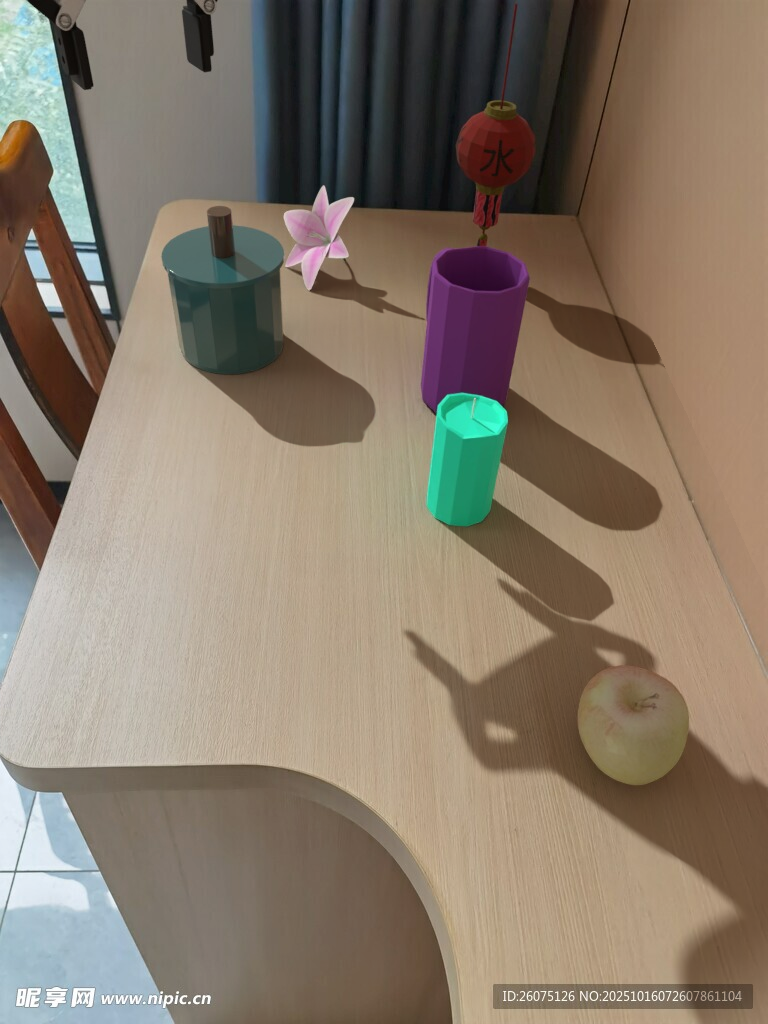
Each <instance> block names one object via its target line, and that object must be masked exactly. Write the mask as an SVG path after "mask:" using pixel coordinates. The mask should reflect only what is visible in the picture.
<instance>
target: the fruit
mask: <svg viewBox="0 0 768 1024" xmlns="http://www.w3.org/2000/svg"><path fill="white" fill-rule="evenodd" d="M689 713H690V712H689V707H688V705H687V703H686V700H685V698H684V696H683V694H682V693H681V691H680V690H679V689H678V687H676V686H675V684H673V683H672V682H671V681H670V680H669V679H667V678H666V677H664V676H663V675H661V674H660V675H659V674H658V673H657V672H654V671H651V670H649V669H646V668H643V667H640V666H635V665H615V666H610V667H607V668H604V669H602V670H601V671H599V672H597V673H595V675H593V677H591V678H590V680H589V681H588V682H587V684H586V685H585V687H584V689H583V690H582V693H581V696H580V698H579V702H578V709H577V727H578V733H579V737H580V740H581V742H582V744H583V747H584V749H585V751H586V752H587V755H588V756H589V758H590V759H591V760H592V762H593V763H594V764H595V766H596V767H597V768H598V769H599V770H600V771H601V772H602V773H603V774H604V775H606V776H607V777H609V778H611V779H613V780H614V781H617V782H620V783H622V784H626V785H630V786H643V785H647V784H650V783H652V782H656V781H657V780H660V779H661V778H662V777H664V776H665V775H667V774H668V773H669V772H670V771H671V770H672V769H673V768H674V767H675V766H676V765H677V763H678V762H679V760H680V758H681V757H682V756H683V752H684V751H685V747H686V744H687V740H688V735H689V730H690V714H689Z"/></svg>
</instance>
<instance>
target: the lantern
mask: <svg viewBox="0 0 768 1024" xmlns="http://www.w3.org/2000/svg"><path fill="white" fill-rule="evenodd" d="M517 10H518V3H517V2H515V3H514V8H513V15H512V16H513V17H512V21H511V29H510V37H509V43H508V51H507V57H506V66H505V73H504V79H503V84H502V93H501V99H500V100H499V99H498V100H497V99H495V100H490V101H488V102H487V103H486V107H485V108H484V110H483V111H480V112H478V113H476V114H474V115H472V116H471V117H470V118H469V119H468V120H467V121H466V123H464V124H463V126H462V127H461V129H460V130H459V134H458V137H457V140H456V142H455V151H456V152H455V153H456V160H457V163H458V165H459V167H460V169H461V170H462V171H463V173H464V175H465V176H466V177H467V178H468V179H469V180H471V181H473V182H474V185H475V189H476V191H475V198H474V206H473V215H472V222H473V223H474V224H475V225H477V226H478V227H479V228H480V230H482V232H480V233H479V234H478V236H477V241H476V247H477V246H481V247H487V244H488V239H489V238H488V234H486V230H489V229H490V228H492V227H495V226H497V224H498V222H499V217H500V209H501V204H502V203H501V202H502V197H503V192H504V189H505V188H506V187H507V186H508V185H509V186H510V185H512V184H514V183H516V182H518V181H519V180H520V179H521V178H522V177H523V176H524V175H525V174H526V173H528V171H529V170H530V167H531V165H532V162H533V160H534V157H535V155H536V151H537V150H536V136H535V134H534V133H533V131H532V129H531V127H530V125H529V123H528V122H527V120H526V119H525V118H523V117H522V116H521V115H519V113H518V111H517V105H516V104H515V103H513V102H511V101H507V100H505V94H506V86H507V80H508V72H509V67H510V58H511V51H512V45H513V39H514V38H513V37H514V33H515V26H516V25H515V24H516V19H517V18H516V17H517Z"/></svg>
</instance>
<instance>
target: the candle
mask: <svg viewBox="0 0 768 1024" xmlns="http://www.w3.org/2000/svg"><path fill="white" fill-rule="evenodd" d="M435 417H436V418H435V424H434V432H433V433H434V434H433V440H432V441H433V442H432V450H431V459H430V467H429V475H428V484H427V491H426V493H427V494H426V508H427V510H429V512H430V513H431V515H432V517H434V519H435V520H436V519H437V520H438V521H440V522H442V523H445V524H447V525H449V526H457V527H470V526H473V525H475V524H478V523H482V522H483V521H484V520H485V518H486V517H487V516H488V515H489V513H490V512H491V508H492V504H493V498H494V493H495V489H496V484H497V480H498V479H497V478H498V475H499V470H500V469H499V468H500V465H501V458H502V454H503V448H504V445H505V439H506V434H507V429H508V424H509V419H508V411H507V410H506V409H505V407H503V406H501V405H500V404H499V403H498V402H497V401H495V400H492V399H489V398H486V397H483V396H480V395H474V394H467V393H457V394H449V395H447V396H446V397H445V398H444V399H443V400H442V401H441V402H440V403H439V404H438V408H437V413H436V415H435Z"/></svg>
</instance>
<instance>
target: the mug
mask: <svg viewBox="0 0 768 1024" xmlns="http://www.w3.org/2000/svg"><path fill="white" fill-rule="evenodd" d="M429 268H430V269H429V276H428V282H427V292H426V302H425V303H426V304H425V305H426V307H425V310H426V312H425V313H426V314H425V318H426V329H425V338H424V350H423V359H422V370H421V379H420V380H421V381H420V390H421V398H422V402H423V403H424V404H426V405H427V406H428V407H429V408H430V409H431V410H432V411H433V412H434V413H435V414H437V408H438V404H439V403H440V402H441V401H442V400H443V399H444V398H445V397H446V396H447V395H449V394H457V393H467V394H474V395H480V396H483V397H486V398H489V399H492V400H495V401H497V402H498V403H499V404H500V405H501V406H502V407H503V406H504V405H505V403H506V402H507V399H508V394H509V388H510V382H511V377H512V372H513V367H514V362H515V357H516V356H515V355H516V351H517V348H518V347H517V346H518V343H519V336H520V331H521V326H522V321H523V316H524V310H525V306H526V299H527V295H528V289H529V285H530V279H531V277H530V274H529V271H528V268H527V265H526V263H525V262H524V261H522V260H521V259H520V258H518V257H516V256H515V255H513V254H512V253H511V252H508V251H504V250H501V249H497V248H493V247H490V246H486V247H481V246H477V245H476V246H471V247H470V246H469V247H459V248H453V247H446V248H443V249H441V250H440V251H439V252H438V253H437V254H436V255H435V256H434V258H433V259H432V262H431V265H430V267H429Z"/></svg>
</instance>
